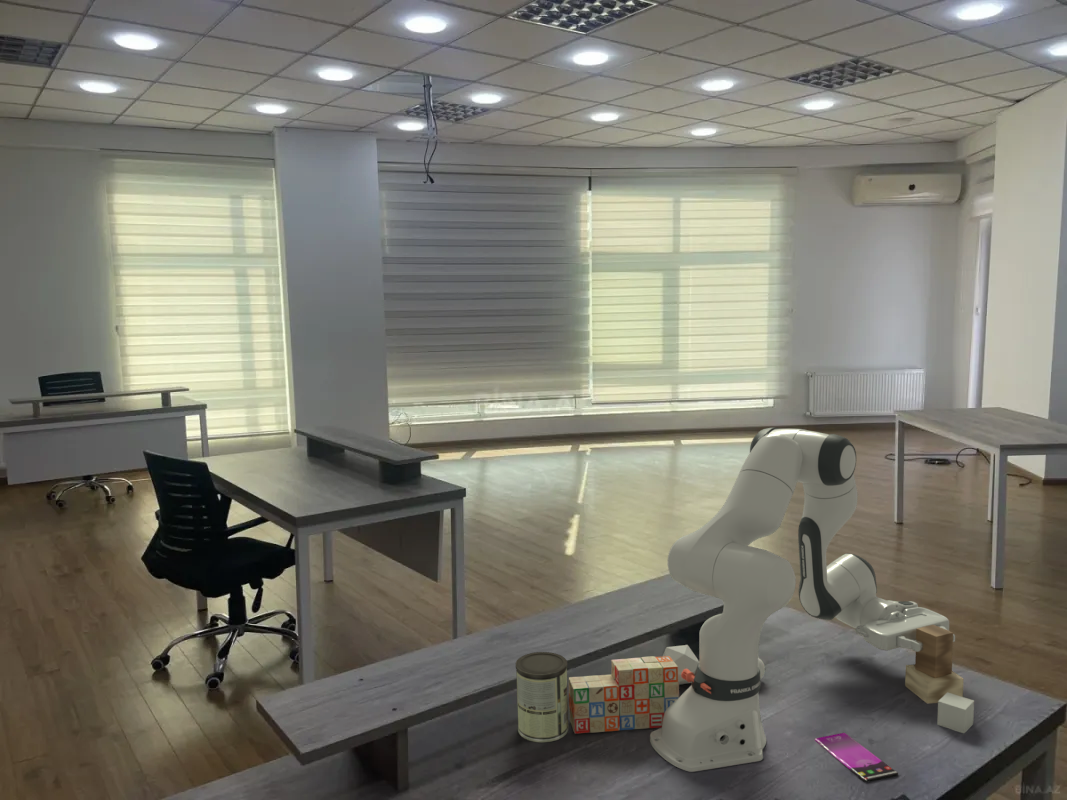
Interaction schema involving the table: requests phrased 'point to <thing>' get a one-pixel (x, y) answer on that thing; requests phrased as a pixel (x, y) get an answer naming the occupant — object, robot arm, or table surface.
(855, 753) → the smartphone
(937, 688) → the oak block
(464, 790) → the table surface
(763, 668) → the white sphere
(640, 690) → the stack of blocks
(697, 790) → the table surface
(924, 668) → the walnut block
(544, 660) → the coffee can
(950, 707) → the grey cube
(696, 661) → the white polyhedron
